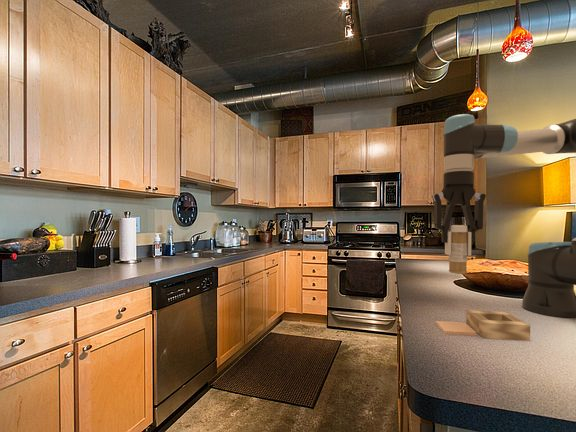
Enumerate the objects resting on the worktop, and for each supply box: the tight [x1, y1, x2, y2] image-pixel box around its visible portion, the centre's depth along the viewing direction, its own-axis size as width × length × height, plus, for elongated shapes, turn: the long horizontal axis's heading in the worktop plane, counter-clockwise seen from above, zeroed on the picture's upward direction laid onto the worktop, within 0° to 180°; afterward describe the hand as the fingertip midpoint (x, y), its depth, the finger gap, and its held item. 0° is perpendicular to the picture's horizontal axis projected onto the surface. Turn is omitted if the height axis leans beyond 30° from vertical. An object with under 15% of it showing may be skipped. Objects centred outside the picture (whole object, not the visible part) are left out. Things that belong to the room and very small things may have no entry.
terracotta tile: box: [435, 320, 478, 337], centre depth 87 cm, size 8×8×1 cm
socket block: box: [465, 309, 531, 342], centre depth 85 cm, size 11×11×4 cm
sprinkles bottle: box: [448, 224, 468, 275], centre depth 86 cm, size 5×5×14 cm
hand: (457, 254), depth 86 cm, fingers closed on sprinkles bottle, 4 cm apart
